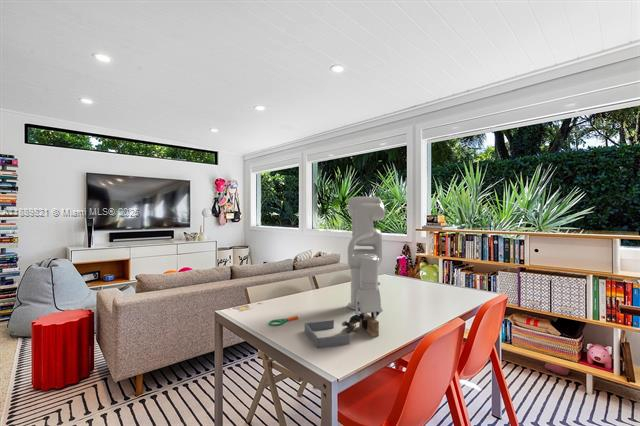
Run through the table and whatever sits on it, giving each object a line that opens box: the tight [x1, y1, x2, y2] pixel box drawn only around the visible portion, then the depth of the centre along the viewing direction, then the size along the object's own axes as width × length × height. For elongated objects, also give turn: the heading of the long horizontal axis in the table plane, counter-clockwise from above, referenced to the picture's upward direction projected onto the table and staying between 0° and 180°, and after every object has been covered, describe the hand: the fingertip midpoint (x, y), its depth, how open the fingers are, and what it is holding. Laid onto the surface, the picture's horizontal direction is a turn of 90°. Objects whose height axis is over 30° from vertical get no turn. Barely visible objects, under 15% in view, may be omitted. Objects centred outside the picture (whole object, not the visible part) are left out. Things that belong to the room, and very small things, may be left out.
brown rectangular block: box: [358, 313, 380, 338], centre depth 135 cm, size 3×12×6 cm, turn 19°
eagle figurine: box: [341, 314, 361, 334], centre depth 135 cm, size 8×7×9 cm
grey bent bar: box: [304, 319, 350, 349], centre depth 128 cm, size 13×18×4 cm
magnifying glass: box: [268, 315, 299, 327], centre depth 146 cm, size 15×6×2 cm, turn 128°
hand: (368, 327), depth 134 cm, fingers closed on brown rectangular block, 3 cm apart
